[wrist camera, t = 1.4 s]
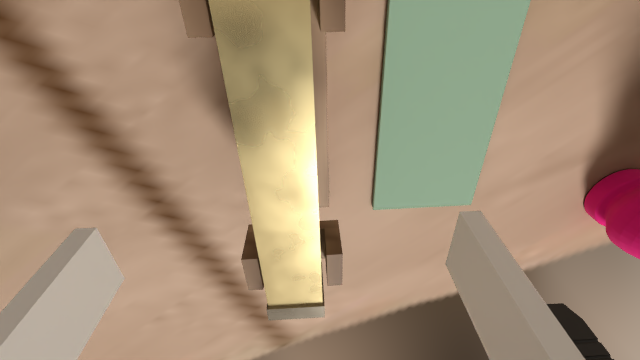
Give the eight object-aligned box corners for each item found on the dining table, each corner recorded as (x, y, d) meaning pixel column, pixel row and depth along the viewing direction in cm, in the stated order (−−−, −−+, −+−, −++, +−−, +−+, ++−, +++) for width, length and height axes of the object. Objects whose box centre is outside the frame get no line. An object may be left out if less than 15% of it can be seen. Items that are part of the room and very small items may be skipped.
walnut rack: (267, 203, 32) (251, 303, 23) (224, -74, 20) (152, -110, 11) (330, 200, 32) (342, 298, 23) (326, -78, 20) (346, -116, 11)
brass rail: (273, 275, 25) (268, 320, 22) (209, -102, 13) (178, -125, 9) (322, 272, 25) (324, 317, 22) (306, -105, 13) (307, -129, 10)
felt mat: (372, 206, 33) (373, 209, 33) (395, -101, 20) (398, -102, 19) (468, 201, 33) (470, 204, 33) (555, -106, 20) (562, -108, 19)
